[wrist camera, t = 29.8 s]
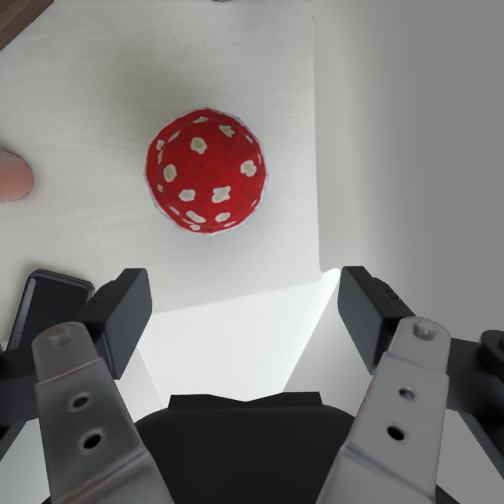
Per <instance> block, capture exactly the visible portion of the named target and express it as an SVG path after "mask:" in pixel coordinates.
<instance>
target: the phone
mask: <svg viewBox="0 0 504 504" xmlns="http://www.w3.org/2000/svg"><path fill="white" fill-rule="evenodd" d="M94 290H95V289H94V286H93V285H92V284H91V283H89V282H86V281H82V280H79V279H75V278H71V277H67V276H64V275H60V274H56V273H53V272H49V271H45V270H36V271H34V272H33V273H32V274H30V275H29V277H28V279H27V282H26V285H25V289H24V292H23V295H22V299H21V302H20V305H19V309H18V312H17V315H16V319H15V322H14V325H13V329H12V332H11V335H10V339H9V342H8V346H7V349H6V350H11V349H15V348H20V347H25V346H29V345H32V342H33V340H34V339H35V338H36V336H37V335H39V334H40V333H41V332H43V331H44V330H46V329H48V328H50V327H52V326H55V325H58V324H61V323H66V322H70V321H71V320H72V319H73V318H74V317H75V316H76V315H77V313H78V312H79V311H80V310H81V309H82V308H83V307H84V305H85V304H86V303H88V301H89V300H90V299H91V297H93V294H94Z"/></svg>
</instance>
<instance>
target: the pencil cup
mask: <svg viewBox="0 0 504 504" xmlns="http://www.w3.org/2000/svg"><path fill="white" fill-rule="evenodd" d="M33 184H34V178H33V173H32V171H31V169H30V167H29V166H28V164H27V163H26V162H25V161H24V160H23V159H21V158H20V157H19V156H17V155H15V154H13V153H10V152H6V151H0V204H2V203H6V202H11V201H15V200H19V199H22V198H24V197H25V196H27V195H28V194H29V193H30V191H31V190H32V188H33Z"/></svg>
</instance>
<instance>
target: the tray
mask: <svg viewBox="0 0 504 504" xmlns="http://www.w3.org/2000/svg"><path fill="white" fill-rule="evenodd" d="M53 1H54V0H0V51H1V50H2V49H3V48H4V47H5V46H6V45H7V44H8V43H10V42H11V41H12V40H13V39H14V38H15V37H16V36H17V35H18V34H19V33H20V32H21V31H22V30H23V29H25V28H26V27H27V26H28V25H29V24H30V23H31V22H32V21H33V20H34V19H35V18H36V17H37V16H38V15H40V14H41V13H42V12H43V11H44V10H45V9H46V8H47V7H48V6H49V5H50V4H51V3H52V2H53Z"/></svg>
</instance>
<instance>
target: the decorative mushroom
mask: <svg viewBox="0 0 504 504" xmlns="http://www.w3.org/2000/svg"><path fill="white" fill-rule="evenodd" d="M268 177H269V173H268V169H267V165H266V160H265V156H264V151H263V147H262V143H261V142H260V141H259V140H258V139H257V137H256V136H255V135H254V134H253V133H252V132H251V130H250V129H249V128H248V127H247V126H246V125H245V124H244V122H243V121H242V120H241V119H240V118H238V117H235V116H232V115H230V114H227V113H224V112H221V111H218V110H215V109H212V108H209V107H204V108H200V109H196V110H191V111H187V112H183V113H179V114H175V115H173V116H172V117H171V118H170V119H169V120H168V121H167V122H166V123H165V125H164V126H163V127H162V128H161V129H160V130H159V131H158V132H157V133H156V134H155V135H154V136H153V137H152V139H151V140H150V142H149V147H148V153H147V158H146V164H145V169H144V178H145V181H146V183H147V186H148V189H149V192H150V194H151V197H152V200H153V203H154V205H155V208H156V209H157V210H159V211H160V212H161V213H162V214H163V215H164V216H166V217H167V218H168V219H169V220H170V221H171V222H172V223H174V224H175V225H176V226H177V227H178V228H179V229H181V230H185V231H190V232H195V233H199V234H204V235H209V236H213V235H216V234H219V233H222V232H226V231H229V230H232V229H235V228H239V227H241V225H242V224H243V223H244V222H245V221H246V220H247V219H248V218H249V217H250V216H251V215H252V214H253V213H254V212H255V211H256V210H257V209H258V208H259V207H260V206H261V203H262V199H263V195H264V192H265V188H266V184H267V180H268Z"/></svg>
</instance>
